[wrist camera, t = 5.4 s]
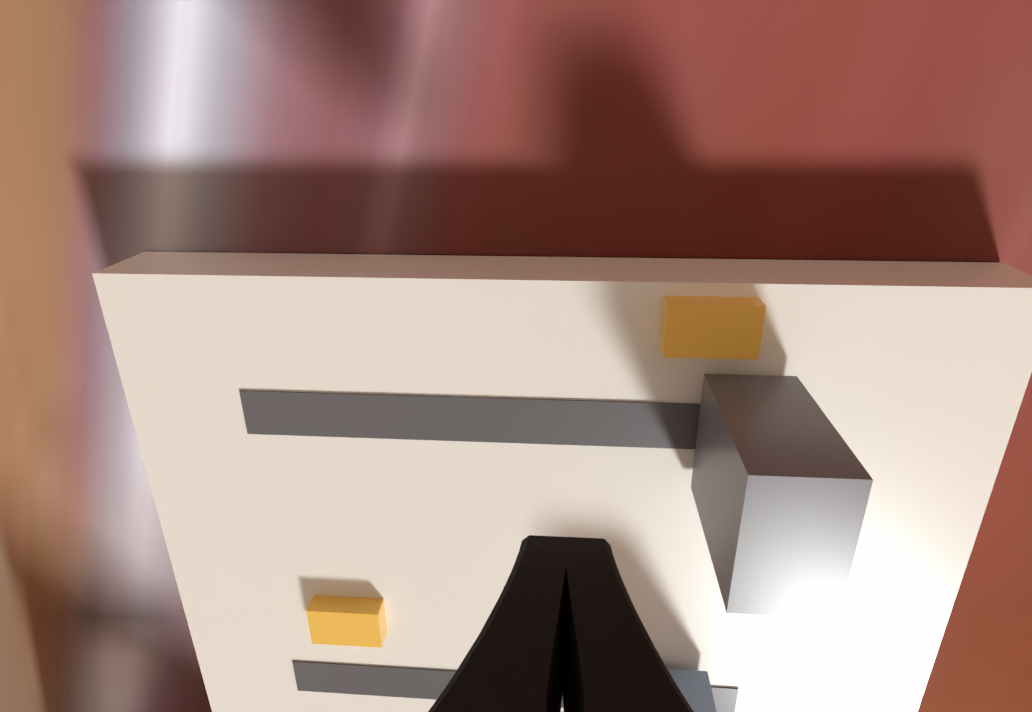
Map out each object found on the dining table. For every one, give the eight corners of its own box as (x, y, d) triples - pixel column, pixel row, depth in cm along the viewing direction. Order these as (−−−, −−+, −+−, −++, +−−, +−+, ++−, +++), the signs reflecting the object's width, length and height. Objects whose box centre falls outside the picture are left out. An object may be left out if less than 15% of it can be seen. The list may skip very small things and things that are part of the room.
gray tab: (776, 490, 16) (838, 618, 12) (691, 487, 16) (726, 612, 12) (796, 376, 14) (873, 479, 11) (703, 373, 15) (748, 475, 11)
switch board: (869, 712, 21) (906, 793, 19) (244, 673, 23) (206, 743, 20) (1001, 262, 15) (1080, 297, 13) (144, 251, 17) (74, 281, 15)
